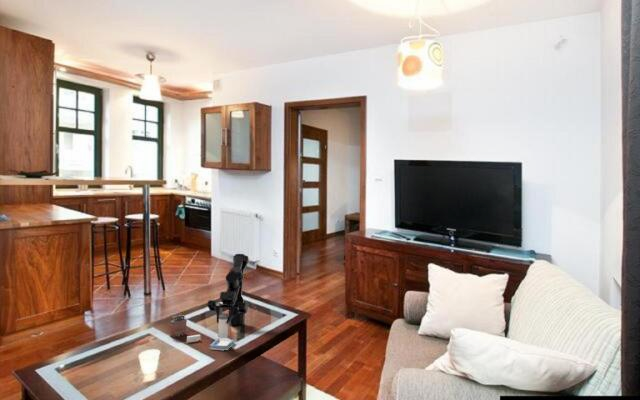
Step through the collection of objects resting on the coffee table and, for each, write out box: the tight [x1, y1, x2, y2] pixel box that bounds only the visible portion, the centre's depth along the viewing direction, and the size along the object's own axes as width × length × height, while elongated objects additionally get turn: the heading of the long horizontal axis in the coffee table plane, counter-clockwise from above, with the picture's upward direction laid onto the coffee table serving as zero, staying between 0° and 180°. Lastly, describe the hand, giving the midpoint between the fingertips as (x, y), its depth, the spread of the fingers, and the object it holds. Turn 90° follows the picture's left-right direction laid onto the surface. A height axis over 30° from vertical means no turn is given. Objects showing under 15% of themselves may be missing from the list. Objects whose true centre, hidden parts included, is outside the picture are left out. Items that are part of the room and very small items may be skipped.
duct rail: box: [186, 334, 202, 343], centre depth 169 cm, size 6×2×2 cm, turn 122°
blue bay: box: [209, 337, 235, 351], centre depth 165 cm, size 9×8×2 cm
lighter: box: [169, 314, 188, 338], centre depth 177 cm, size 8×3×10 cm, turn 134°
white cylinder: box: [217, 312, 229, 339], centre depth 165 cm, size 4×4×10 cm
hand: (222, 323), depth 164 cm, fingers closed on white cylinder, 4 cm apart
